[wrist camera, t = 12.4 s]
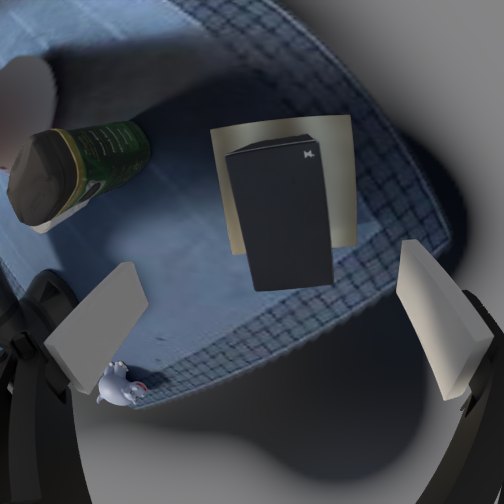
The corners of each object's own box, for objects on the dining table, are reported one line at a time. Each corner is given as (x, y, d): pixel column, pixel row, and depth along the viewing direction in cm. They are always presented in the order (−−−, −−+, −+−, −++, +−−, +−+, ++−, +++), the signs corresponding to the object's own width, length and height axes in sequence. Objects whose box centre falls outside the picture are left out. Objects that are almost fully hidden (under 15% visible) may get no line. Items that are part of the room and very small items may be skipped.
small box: (245, 143, 26) (217, 152, 16) (310, 132, 24) (322, 134, 15) (264, 240, 30) (251, 295, 20) (324, 232, 28) (338, 286, 19)
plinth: (241, 234, 36) (232, 254, 31) (224, 129, 31) (210, 129, 25) (347, 226, 34) (356, 245, 28) (339, 117, 28) (350, 114, 23)
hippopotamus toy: (163, 389, 57) (149, 419, 48) (123, 388, 61) (109, 414, 52) (137, 359, 53) (118, 390, 44) (99, 361, 57) (81, 387, 49)
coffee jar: (133, 111, 31) (26, 118, 14) (161, 155, 33) (61, 189, 16) (92, 153, 34) (-6, 184, 17) (116, 193, 36) (24, 245, 20)
